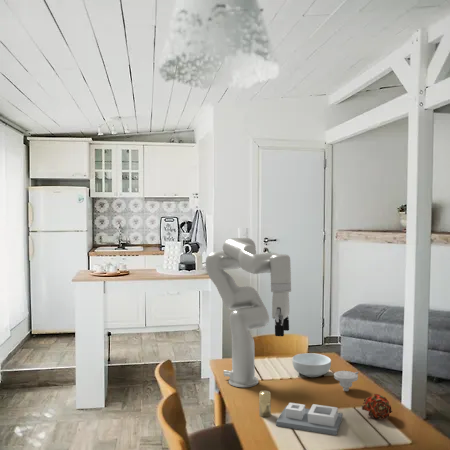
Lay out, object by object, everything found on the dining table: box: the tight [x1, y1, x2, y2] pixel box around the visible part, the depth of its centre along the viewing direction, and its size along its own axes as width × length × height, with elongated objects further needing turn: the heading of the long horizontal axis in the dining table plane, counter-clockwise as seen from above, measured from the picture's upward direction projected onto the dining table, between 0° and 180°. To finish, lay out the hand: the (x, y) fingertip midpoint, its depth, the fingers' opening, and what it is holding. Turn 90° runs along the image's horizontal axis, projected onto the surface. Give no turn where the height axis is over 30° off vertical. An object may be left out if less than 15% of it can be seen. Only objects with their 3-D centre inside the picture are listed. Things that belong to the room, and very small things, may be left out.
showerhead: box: [333, 370, 359, 392], centre depth 192 cm, size 9×7×10 cm
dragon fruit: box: [361, 393, 393, 421], centre depth 167 cm, size 8×8×12 cm
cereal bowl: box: [291, 352, 332, 378], centre depth 211 cm, size 17×17×7 cm
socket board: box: [275, 402, 343, 436], centre depth 163 cm, size 20×14×4 cm
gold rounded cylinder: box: [258, 390, 272, 418], centre depth 169 cm, size 4×4×8 cm
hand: (282, 333), depth 179 cm, fingers open, 9 cm apart
